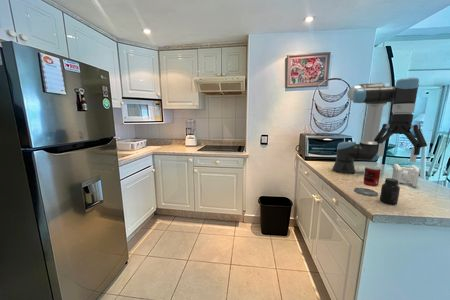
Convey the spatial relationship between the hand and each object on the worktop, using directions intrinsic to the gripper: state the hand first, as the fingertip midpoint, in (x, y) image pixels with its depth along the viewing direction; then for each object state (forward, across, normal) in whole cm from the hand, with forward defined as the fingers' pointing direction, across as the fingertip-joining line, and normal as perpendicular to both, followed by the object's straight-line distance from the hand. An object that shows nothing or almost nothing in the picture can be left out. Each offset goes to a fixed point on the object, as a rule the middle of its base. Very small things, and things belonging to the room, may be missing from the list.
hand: (395, 158), depth 90 cm
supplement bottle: (+22, 0, 0) cm, 23 cm away
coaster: (+22, -13, +2) cm, 26 cm away
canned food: (+22, -22, +18) cm, 36 cm away
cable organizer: (+22, -17, +39) cm, 48 cm away
